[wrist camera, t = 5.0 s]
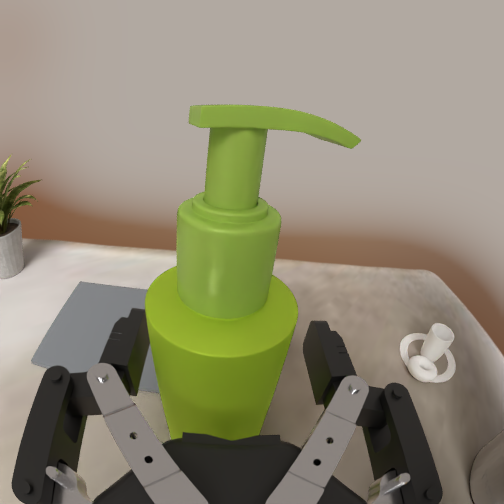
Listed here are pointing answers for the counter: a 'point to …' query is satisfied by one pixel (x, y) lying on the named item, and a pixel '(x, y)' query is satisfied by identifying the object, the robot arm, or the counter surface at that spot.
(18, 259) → the house plant
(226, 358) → the soap dispenser
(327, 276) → the counter surface
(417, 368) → the white baby pacifier
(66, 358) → the rubber mat
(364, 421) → the robot arm
